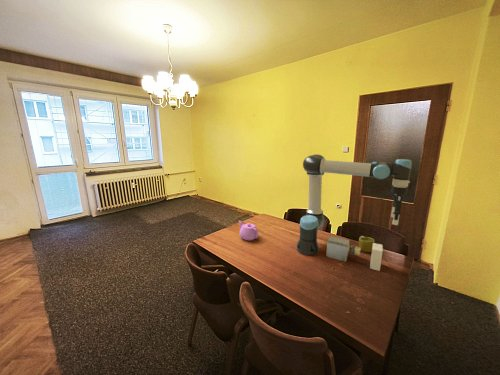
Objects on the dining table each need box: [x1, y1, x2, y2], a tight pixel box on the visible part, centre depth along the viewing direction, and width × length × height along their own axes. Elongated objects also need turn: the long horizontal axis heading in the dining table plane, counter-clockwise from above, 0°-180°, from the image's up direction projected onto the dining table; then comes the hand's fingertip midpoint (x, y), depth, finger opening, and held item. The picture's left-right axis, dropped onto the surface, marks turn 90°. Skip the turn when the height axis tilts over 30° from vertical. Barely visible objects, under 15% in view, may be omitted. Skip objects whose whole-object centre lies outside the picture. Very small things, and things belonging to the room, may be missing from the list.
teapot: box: [238, 220, 259, 241], centre depth 163 cm, size 20×13×12 cm, turn 48°
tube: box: [347, 244, 362, 256], centre depth 133 cm, size 17×5×5 cm, turn 58°
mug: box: [358, 235, 376, 253], centre depth 144 cm, size 12×10×10 cm
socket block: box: [369, 243, 384, 272], centre depth 124 cm, size 5×9×12 cm, turn 148°
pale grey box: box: [325, 235, 350, 263], centre depth 135 cm, size 12×9×11 cm
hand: (394, 220), depth 125 cm, fingers open, 13 cm apart
